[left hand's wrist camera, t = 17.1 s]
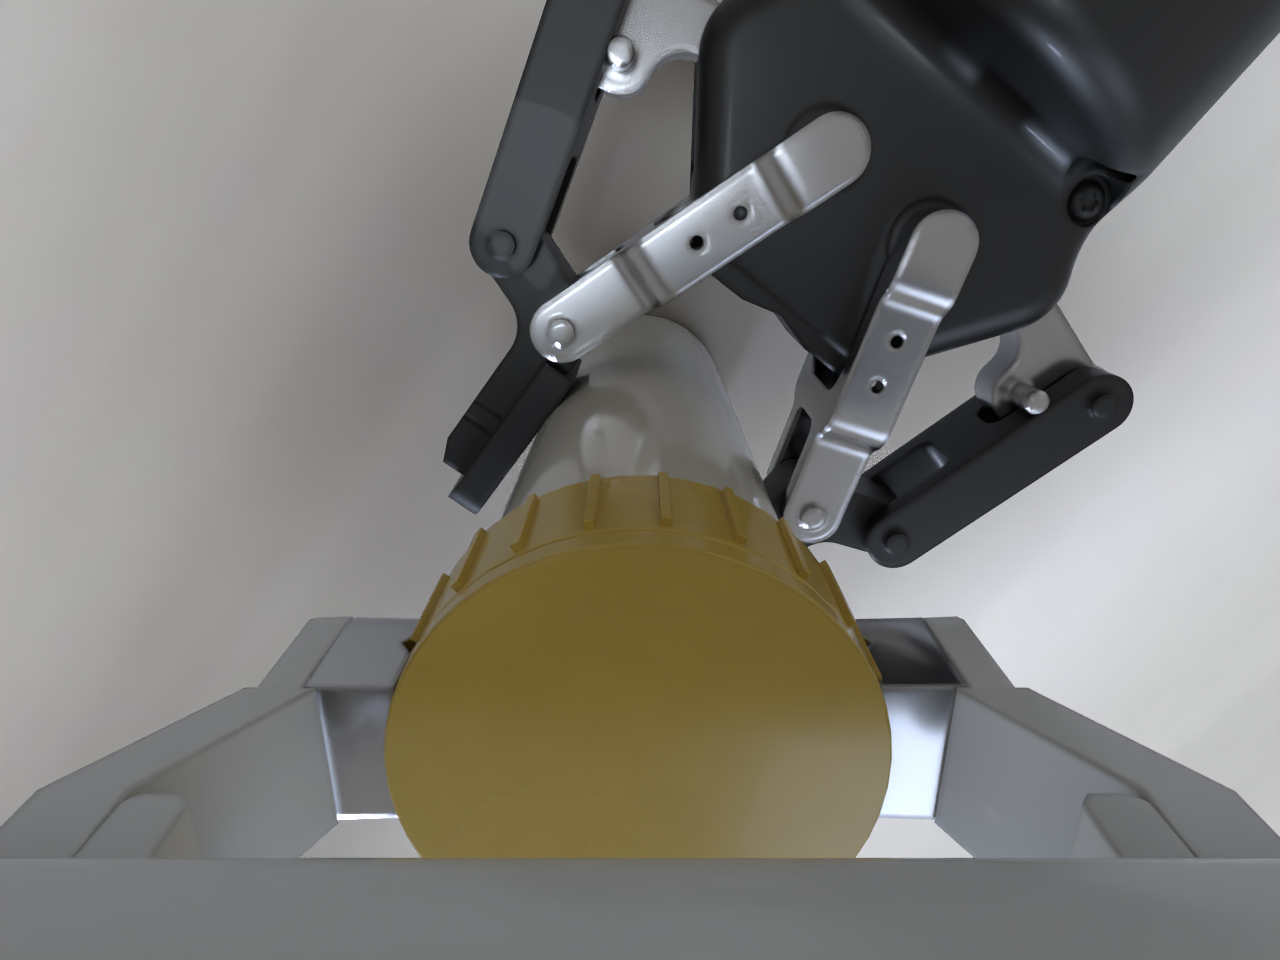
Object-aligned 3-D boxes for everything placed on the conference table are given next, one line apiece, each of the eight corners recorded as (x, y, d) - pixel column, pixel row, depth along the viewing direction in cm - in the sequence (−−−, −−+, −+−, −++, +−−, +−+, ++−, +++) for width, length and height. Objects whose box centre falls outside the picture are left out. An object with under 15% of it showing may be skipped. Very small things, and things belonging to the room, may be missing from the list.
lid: (349, 548, 10) (281, 633, 8) (792, 406, 9) (830, 463, 7) (517, 875, 11) (494, 1007, 10) (895, 776, 11) (946, 897, 9)
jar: (702, 297, 23) (811, 497, 8) (734, 451, 24) (871, 848, 10) (541, 335, 23) (371, 591, 9) (583, 485, 25) (499, 914, 10)
